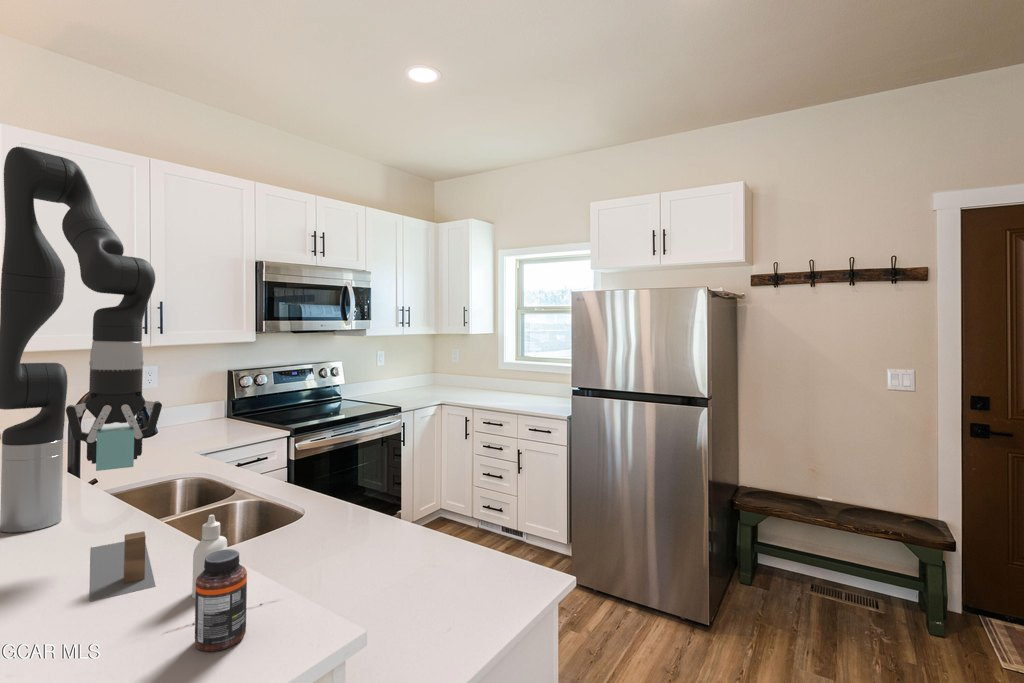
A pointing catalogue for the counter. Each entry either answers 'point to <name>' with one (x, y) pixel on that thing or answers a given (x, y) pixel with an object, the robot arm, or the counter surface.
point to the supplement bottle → (220, 601)
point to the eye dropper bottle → (207, 547)
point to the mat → (114, 572)
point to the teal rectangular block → (115, 448)
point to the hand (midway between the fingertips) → (114, 460)
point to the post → (134, 557)
